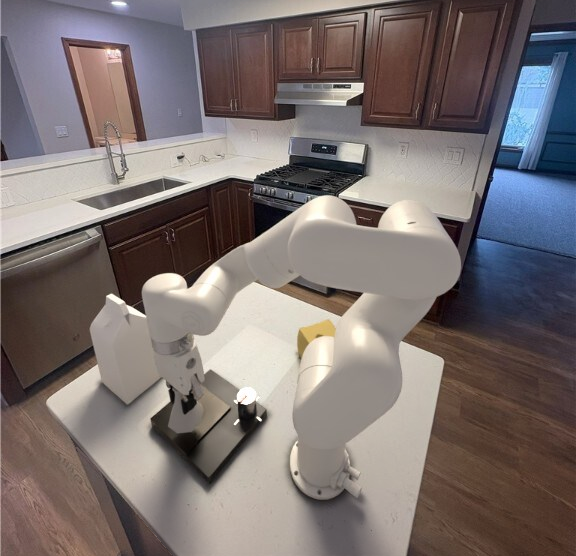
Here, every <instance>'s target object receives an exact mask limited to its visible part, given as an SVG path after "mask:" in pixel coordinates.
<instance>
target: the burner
mask: <svg viewBox="0 0 576 556" xmlns="http://www.w3.org/2000/svg"><path fill="white" fill-rule="evenodd" d="M199 385H200V387H201V389H202V391H203V393H204V396H203V397H202V398H201V399H199V400H197V402H198V403H199V404H200V405H201V406H202V407H203V414H202V421H201V422H200V423H199V424H198V425H197V426H196V427H195V429H194V430H193V431H192V432H186V433H176V432H175V431H173V430H172V429H171V428H169V427H168V424H169V420H170V416H171V412H172V409H173V405H174V404H172V403H171V401H170V400H169V402H168V403H166V404H165V405H164V406H163V407H162V408H160V410H158V411H157V412H156V413H155V414H154V415H152V416H151V417H150V418H149V419H150V422H151V421H152V422H153V423H154V424H155V425H156V426H157V427H158V428H159V429H160V430H161V431H162V432H163V433H164V434H165V435H166V436H167V437H168V438H169V439H170V440H171V441H172V442H173V443H174V444H175V445H176V446H177V447H178V448H179V449H180V450H181V451H182V452H183V453H184V454H185V455H187V454H188V453H189V452H190V451H191V450H192V449H193V448H194V447H195V446H196V445H197V444H198V443H199V442H200V440H201V439H202V438H203V437H204V436H205V435H206V434H207V433H208V432H209V431H210V430H211V429H212V428H213V427H214V426H215V425H216V424H217V423H218V422H219V421H220V420H221V418H222V417H223V416H224V415H225V414H226V413H227V412H228V411H229V410H230V409H231V407H230V406H229V405H227V404H226V403H225V402H223V401H222V400H221V399H219V398H218V397H217V396H216V395H214V394H213V393H212V392H210V391H209V390H208V389H206V388H205V387H204V386H203V385H201V384H200V383H199ZM190 390H191V389H190Z"/></svg>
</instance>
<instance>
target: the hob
mask: <svg viewBox="0 0 576 556" xmlns="http://www.w3.org/2000/svg"><path fill="white" fill-rule="evenodd" d="M204 376H205V380H204V382H203V383H202V384H201V383H200V382H199V381H198V382H199V383H200V384H201V385H203V386H204V387H205V388H206V389H208V390H209V391H210V392H212V393H213V394H214V395H216V396H217V397H218V398H219V399H221V400H222V401H223V402H225V403H226V404H227V405H229V406H230V407H231V409H230V410H229V411H228V412H227V413H226V414H225V415H224V416H223V417H222V418H221V420H220V421H219V422H218V423H217V424H216V425H215V426H214V427H213V428H212V429H211V430H210V431H209V432H208V433H207V434H206V435H205V436H204V437H203V438H202V439H201V440H200V442H199V443H198V444H197V445H196V446H195V447H194V448H193V449H192V450H191V451H190V452H189V453H188V454H187V455H185V454H184V453H183V452H182V451H181V450H180V449H179V448H178V447H177V446H176V445H175V444H174V443H173V442H172V441H171V440H170V439H169V438H168V437H167V436H166V435H165V434H164V433H163V432H162V431H161V430H160V429H159V428H158V427H157V426H156V425H155V424H154V423H153V422H152V421H151V420H150V423H151V427H152V428H153V429H154V430H155V431H156V432H157V433H158V434H159V435H160V436H161V437H162V438H163V439H164V440H165V441H166V442H167V443H168V444H169V445H170V446H171V447H172V448H173V449H174V450H175V451H176V452H177V453H178V454H179V455H180V456H181V458H183V459H184V460H185V461H186V462H187V463H188V464H190V466H191V467H192V469H194V470H195V471H196V472H197V473H198V474H199V475H200V476H201V477H202V478H203V479H204V480H205V481H206V482H207V483H208V484H211V483H212V482H213V480H215V478H216V477H217V476H218V474H219V473H220V472H221V471H222V470H223V468H224V467H225V466H226V465H227V464H228V463H229V461H230V460H231V458H233V456H234V455H235V454H236V453H237V451H239V449H240V448H241V447H242V445H243V444H244V443H245V442H246V441H247V439H248V438H249V437H250V435H252V433H253V432H254V431H255V429H256V428H258V426H259V425H260V424H261V422H262V421H263V420H264V419H265V418H266V417H267V412H268V411H267V408H266V407H264V406H263V405H261V404H260V403H258V402H257V401H258V400H259V399H260V397H259V396H257V397H256V407H257V410H256V414H255V415H254V416H253V417H252V418H250V419H243V418H241V417H240V416H239V414H238V404H237V394H238V392H239V391H240V390H241V389H239V388H237V387H236V386H235V385H233V384H232V383H231V382H229V381H228V380H227V379H225V378H224V377H222V376H221V375H219V374H218V373H217V372H215V371H214V370H212V369H211V368H210V369H209V370H207V371H206V372H204Z"/></svg>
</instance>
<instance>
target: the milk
mask: <svg viewBox="0 0 576 556" xmlns="http://www.w3.org/2000/svg"><path fill="white" fill-rule="evenodd" d="M89 333H90V337H91V341H92V346H93V350H94V354H95V360H96V363H97V367H98V371H99V372H98V373H99V376H100V380H101V383H102V384H104V385H105V386H106V388H108V389H109V390H110V391H111V392H113V394H115V395H116V396H117V398H119V399H120V400H121V401H122V402H124V403H125V404H126V405H127V406H128V405H129V404H130V403H132V402H133V401H134V400H136V399H137V398H138V397H139V396H140V395H142V394H143V393H144V392H145V391H147V390H148V389H149V388H150V387H152V386H153V385H154V384H155V383H157V382H158V381H159V380H160V379H161V378H162V377H161V376H160V374H159V373H158V371H157V368H156V364H155V358H154V351H153V348H152V343H151V338H150V333H149V328H148V323H147V318H146V314H145V313H142V312H140V310H137V309H136V308H134V307H133V306H131V305H128V304H126V302H125V301H124V300H123V299H121V298H120V297H118V296H117V295H115V294H114V293H109V294H108V295H106V296H105V304H104V306H103V307H102V308H101V310H100V311H99V312H98V313H97V315H96V316H95V318H94V319H93V321H91V324H90V326H89Z"/></svg>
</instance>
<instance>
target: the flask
mask: <svg viewBox="0 0 576 556" xmlns="http://www.w3.org/2000/svg"><path fill="white" fill-rule="evenodd" d="M172 390H173V391H174V392H175V402H174V405H173V409H172V412H171V416H170V420H169V424H168V427H169V428H171V429H172V430H173V431H175V432H176V433H186V432H192V431H193V430H194V429H195V427H196V426H197V425H198V424H199V423H200V422H201V421H202V414H203V407H202V406H201V405H200V404H199V403H198V402H197V404H196V405H195V407H194V408H193V409H192V410H191V411H189V412H188V413H187V414H186V415H184V414H183V411H182V405H181V399H182V395H181V393H180V392H179V391H178V390H177V389H175V388H174V387H173V388H172Z"/></svg>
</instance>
